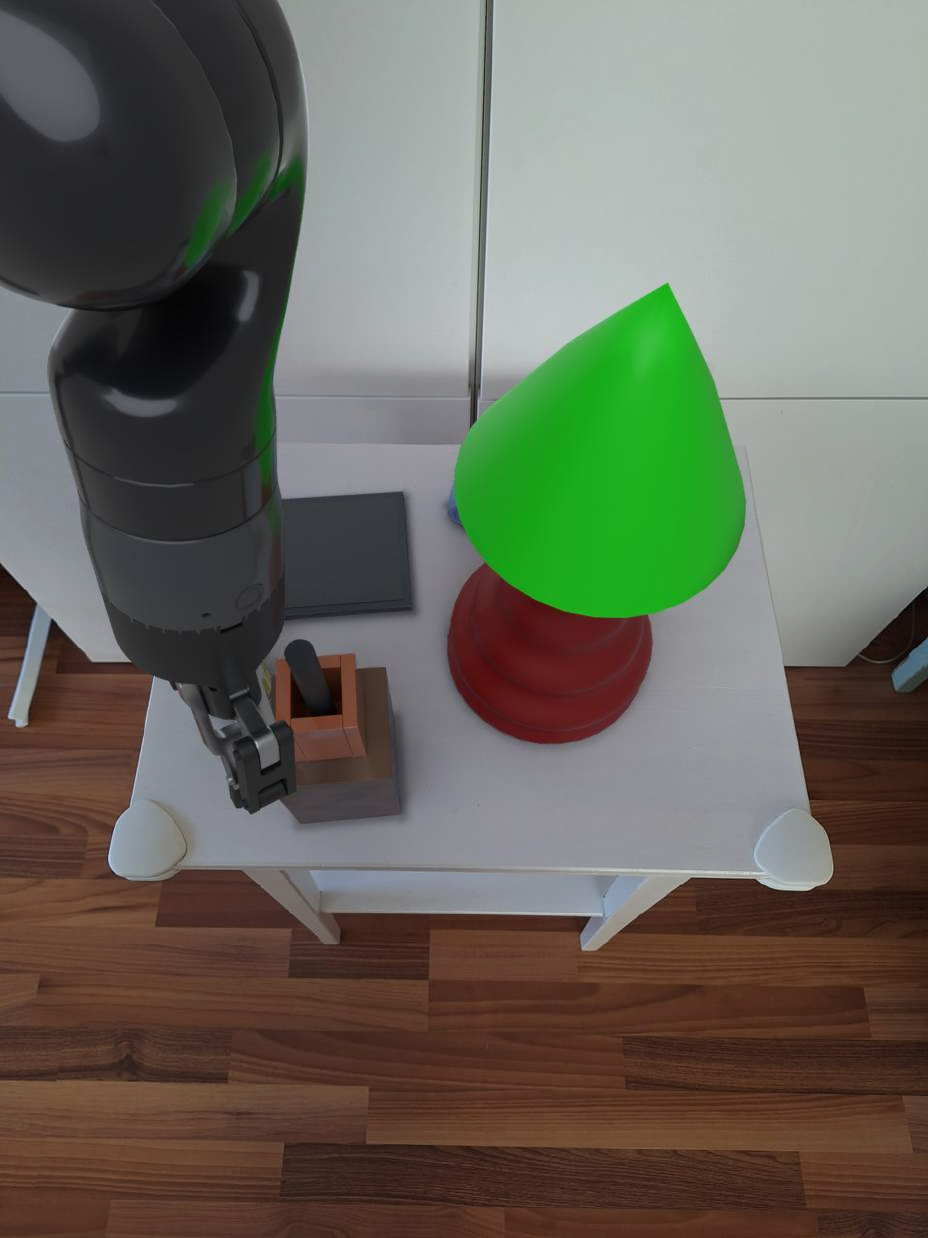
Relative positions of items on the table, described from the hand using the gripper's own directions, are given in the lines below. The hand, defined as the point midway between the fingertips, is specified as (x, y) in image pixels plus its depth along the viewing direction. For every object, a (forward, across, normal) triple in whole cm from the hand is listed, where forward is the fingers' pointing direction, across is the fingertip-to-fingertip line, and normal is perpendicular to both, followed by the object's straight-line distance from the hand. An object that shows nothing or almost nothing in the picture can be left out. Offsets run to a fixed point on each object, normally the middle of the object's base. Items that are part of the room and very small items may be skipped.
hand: (219, 736), depth 44 cm
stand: (+25, -4, +12) cm, 28 cm away
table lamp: (+20, -4, +34) cm, 40 cm away
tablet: (+21, -25, +21) cm, 39 cm away
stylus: (+11, -3, +9) cm, 14 cm away
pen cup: (+11, -3, +9) cm, 15 cm away
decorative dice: (+17, -21, +37) cm, 46 cm away
